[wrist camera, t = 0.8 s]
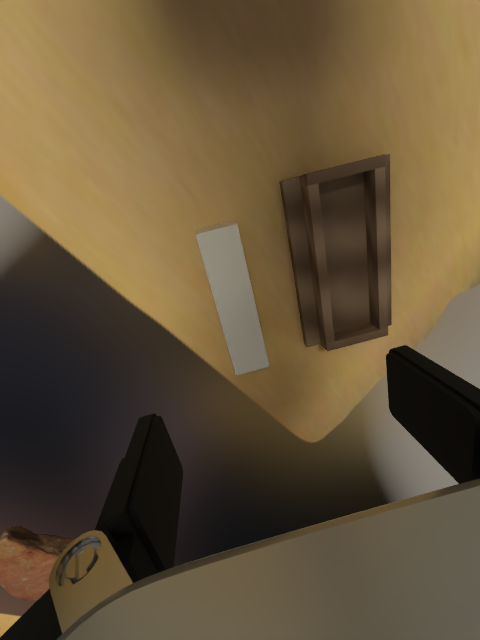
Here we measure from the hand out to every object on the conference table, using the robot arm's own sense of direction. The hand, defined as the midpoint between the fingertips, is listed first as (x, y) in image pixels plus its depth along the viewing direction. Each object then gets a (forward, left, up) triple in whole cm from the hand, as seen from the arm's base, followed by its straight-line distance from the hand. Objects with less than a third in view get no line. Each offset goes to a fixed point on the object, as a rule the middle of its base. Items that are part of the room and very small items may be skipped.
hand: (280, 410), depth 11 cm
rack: (+1, +13, -22) cm, 25 cm away
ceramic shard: (+34, -37, -22) cm, 55 cm away
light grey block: (+1, 0, -22) cm, 22 cm away
